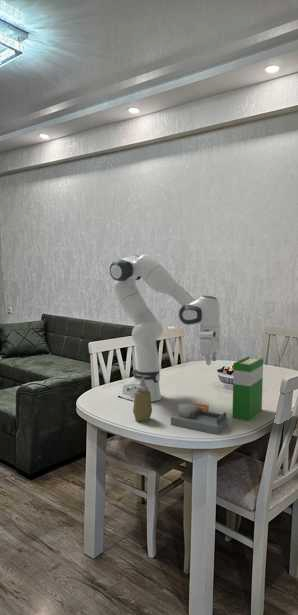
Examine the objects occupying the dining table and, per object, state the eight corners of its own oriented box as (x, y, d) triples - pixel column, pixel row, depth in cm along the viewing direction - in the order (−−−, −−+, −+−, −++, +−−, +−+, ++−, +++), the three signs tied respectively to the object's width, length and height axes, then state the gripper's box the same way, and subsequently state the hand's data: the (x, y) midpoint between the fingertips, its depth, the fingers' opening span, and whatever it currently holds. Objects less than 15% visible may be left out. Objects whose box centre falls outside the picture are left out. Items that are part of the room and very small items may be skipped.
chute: (187, 413, 180) (187, 405, 179) (192, 410, 184) (192, 402, 184) (204, 417, 176) (204, 408, 175) (208, 413, 180) (208, 404, 180)
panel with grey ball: (170, 424, 166) (171, 407, 165) (183, 416, 176) (183, 400, 175) (216, 434, 155) (217, 416, 155) (227, 424, 166) (227, 408, 165)
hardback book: (246, 407, 189) (247, 356, 187) (261, 409, 185) (263, 358, 183) (232, 417, 174) (233, 363, 173) (249, 421, 170) (250, 365, 169)
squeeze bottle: (151, 416, 175) (152, 375, 174) (152, 422, 167) (152, 380, 166) (133, 416, 175) (133, 375, 174) (132, 423, 167) (133, 380, 166)
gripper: (209, 329, 190) (210, 358, 191) (196, 334, 172) (198, 366, 172) (222, 329, 188) (223, 359, 188) (211, 334, 169) (212, 367, 170)
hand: (211, 362), depth 180 cm, fingers open, 8 cm apart
